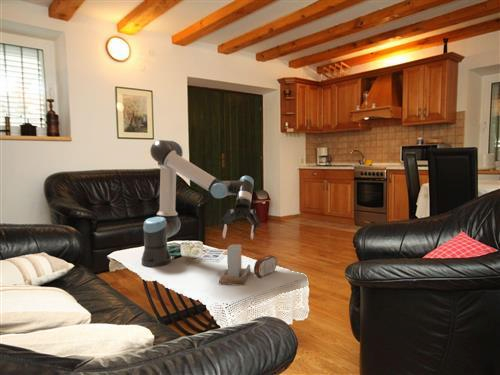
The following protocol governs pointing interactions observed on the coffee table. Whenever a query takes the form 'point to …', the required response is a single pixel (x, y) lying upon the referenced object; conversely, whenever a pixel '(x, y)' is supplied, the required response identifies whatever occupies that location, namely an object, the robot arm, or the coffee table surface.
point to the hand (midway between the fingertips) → (237, 237)
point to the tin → (265, 265)
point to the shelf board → (233, 278)
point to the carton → (234, 260)
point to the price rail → (245, 273)
